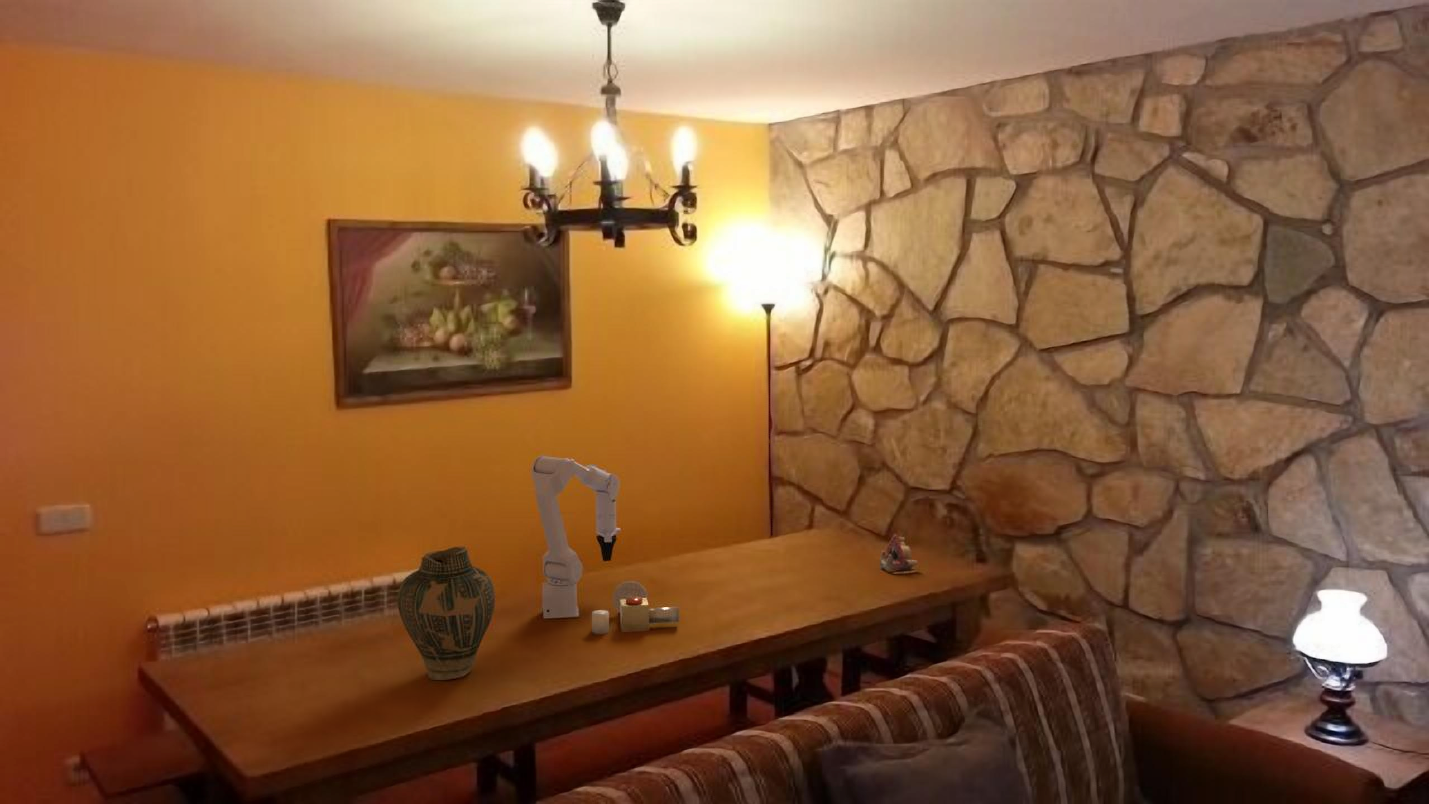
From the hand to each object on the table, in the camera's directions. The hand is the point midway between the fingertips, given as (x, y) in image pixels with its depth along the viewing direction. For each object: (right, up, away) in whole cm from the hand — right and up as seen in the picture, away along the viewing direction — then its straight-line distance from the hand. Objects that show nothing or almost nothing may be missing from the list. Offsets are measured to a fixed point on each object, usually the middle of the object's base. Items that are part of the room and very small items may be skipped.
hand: (606, 560), depth 330 cm
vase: (-31, -19, -60) cm, 70 cm away
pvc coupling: (+1, -14, -31) cm, 34 cm away
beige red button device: (+14, -13, -25) cm, 31 cm away
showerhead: (+7, -11, -12) cm, 18 cm away
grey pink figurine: (+87, -6, +26) cm, 91 cm away
